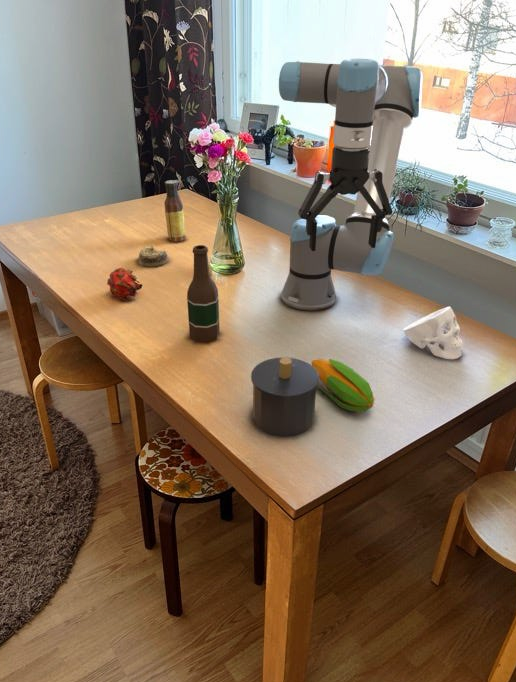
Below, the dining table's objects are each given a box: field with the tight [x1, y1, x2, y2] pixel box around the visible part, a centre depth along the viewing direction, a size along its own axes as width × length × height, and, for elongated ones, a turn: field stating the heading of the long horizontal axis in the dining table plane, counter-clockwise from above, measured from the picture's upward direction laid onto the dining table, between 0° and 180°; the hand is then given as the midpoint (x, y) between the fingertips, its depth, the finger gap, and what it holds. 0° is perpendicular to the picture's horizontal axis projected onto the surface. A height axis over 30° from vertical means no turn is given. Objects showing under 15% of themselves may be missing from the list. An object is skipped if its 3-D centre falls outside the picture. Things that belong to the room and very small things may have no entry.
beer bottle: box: [186, 244, 220, 344], centre depth 144 cm, size 8×8×24 cm
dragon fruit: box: [106, 267, 143, 301], centre depth 167 cm, size 8×8×12 cm
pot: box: [252, 384, 317, 437], centre depth 121 cm, size 13×13×10 cm
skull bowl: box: [403, 306, 464, 360], centre depth 145 cm, size 10×14×12 cm
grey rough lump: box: [137, 245, 170, 268], centre depth 188 cm, size 10×10×5 cm
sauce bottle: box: [164, 179, 187, 243], centre depth 200 cm, size 7×6×20 cm
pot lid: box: [250, 357, 320, 398], centre depth 117 cm, size 14×14×5 cm
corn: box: [311, 358, 375, 413], centre depth 128 cm, size 7×8×20 cm
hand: (342, 247), depth 130 cm, fingers open, 13 cm apart
